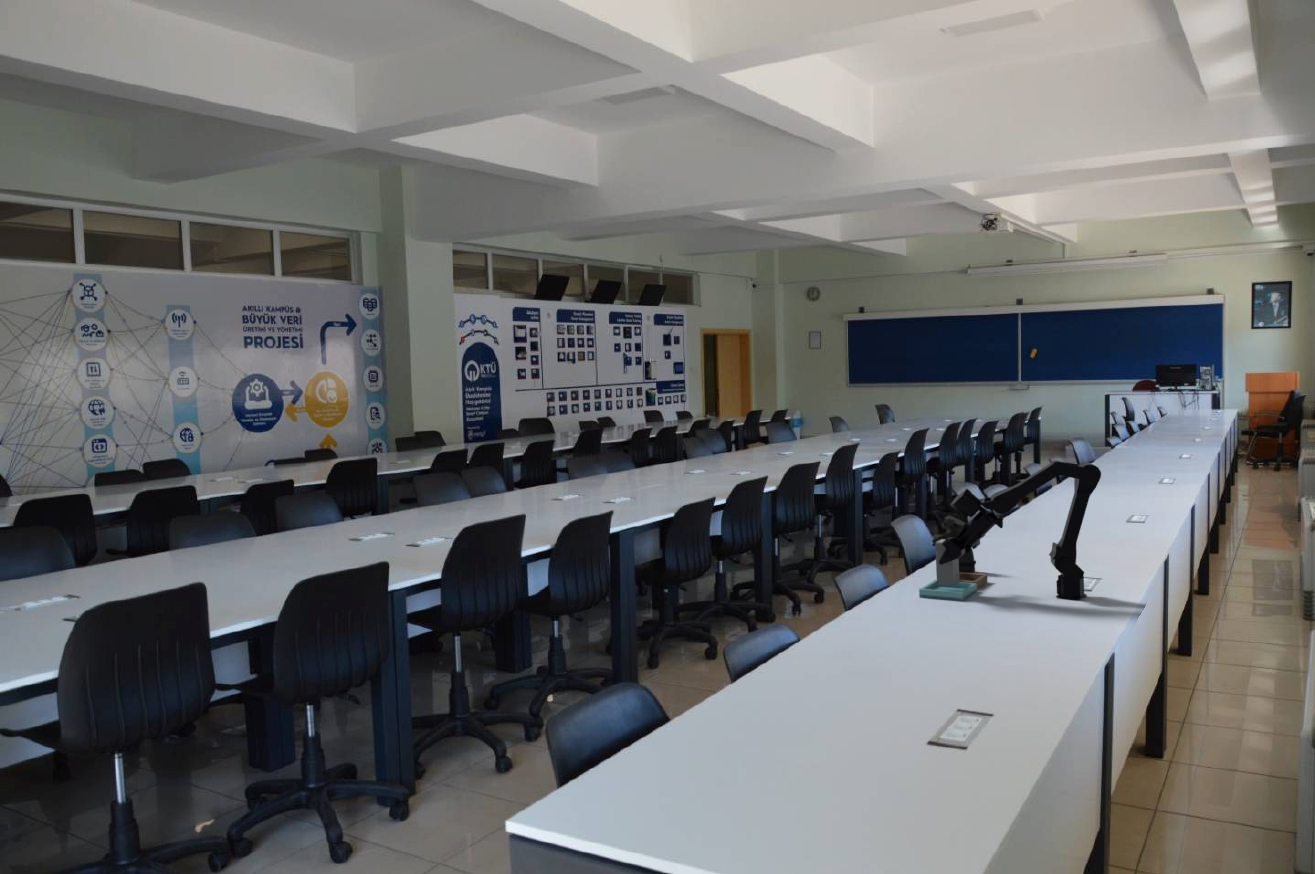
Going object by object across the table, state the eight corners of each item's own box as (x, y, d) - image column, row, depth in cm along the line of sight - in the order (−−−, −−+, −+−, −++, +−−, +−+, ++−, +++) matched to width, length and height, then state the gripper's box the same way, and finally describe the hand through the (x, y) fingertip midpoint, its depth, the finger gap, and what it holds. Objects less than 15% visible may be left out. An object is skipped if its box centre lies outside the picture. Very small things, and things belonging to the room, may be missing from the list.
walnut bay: (987, 582, 306) (986, 557, 306) (976, 590, 297) (975, 564, 296) (952, 579, 313) (951, 555, 312) (940, 587, 303) (939, 561, 303)
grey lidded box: (959, 582, 294) (957, 539, 294) (953, 586, 290) (951, 543, 289) (943, 581, 297) (941, 539, 296) (937, 585, 293) (935, 542, 292)
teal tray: (977, 591, 296) (976, 583, 295) (962, 601, 285) (962, 593, 284) (935, 587, 303) (934, 580, 303) (919, 597, 292) (919, 589, 292)
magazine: (983, 569, 318) (961, 527, 320) (946, 584, 324) (925, 543, 326) (985, 566, 321) (963, 525, 323) (949, 581, 327) (928, 541, 330)
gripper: (968, 502, 297) (934, 536, 304) (947, 512, 282) (912, 547, 289) (995, 529, 293) (960, 563, 300) (976, 540, 278) (939, 575, 285)
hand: (942, 561), depth 294 cm, fingers closed on grey lidded box, 5 cm apart
